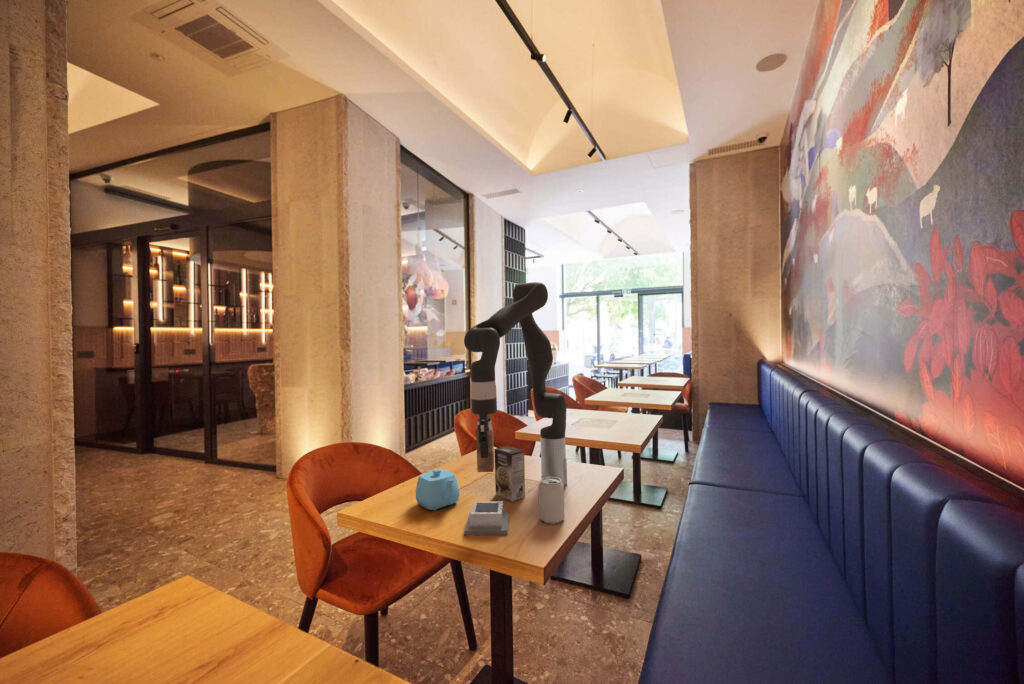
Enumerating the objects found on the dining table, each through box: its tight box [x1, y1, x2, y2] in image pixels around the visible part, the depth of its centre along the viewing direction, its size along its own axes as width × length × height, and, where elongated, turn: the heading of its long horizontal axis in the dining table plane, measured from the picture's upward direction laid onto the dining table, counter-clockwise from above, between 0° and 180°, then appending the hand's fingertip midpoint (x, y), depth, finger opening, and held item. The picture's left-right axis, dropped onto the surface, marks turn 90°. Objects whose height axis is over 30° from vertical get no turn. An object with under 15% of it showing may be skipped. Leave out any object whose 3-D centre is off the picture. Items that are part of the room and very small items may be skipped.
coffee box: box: [494, 445, 526, 502], centre depth 142 cm, size 9×6×16 cm
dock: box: [463, 500, 510, 536], centre depth 120 cm, size 12×12×5 cm
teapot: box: [415, 468, 460, 511], centre depth 135 cm, size 12×18×12 cm
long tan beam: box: [475, 426, 495, 473], centre depth 120 cm, size 4×4×12 cm
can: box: [538, 477, 566, 525], centre depth 123 cm, size 8×8×12 cm
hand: (485, 454), depth 120 cm, fingers closed on long tan beam, 4 cm apart
